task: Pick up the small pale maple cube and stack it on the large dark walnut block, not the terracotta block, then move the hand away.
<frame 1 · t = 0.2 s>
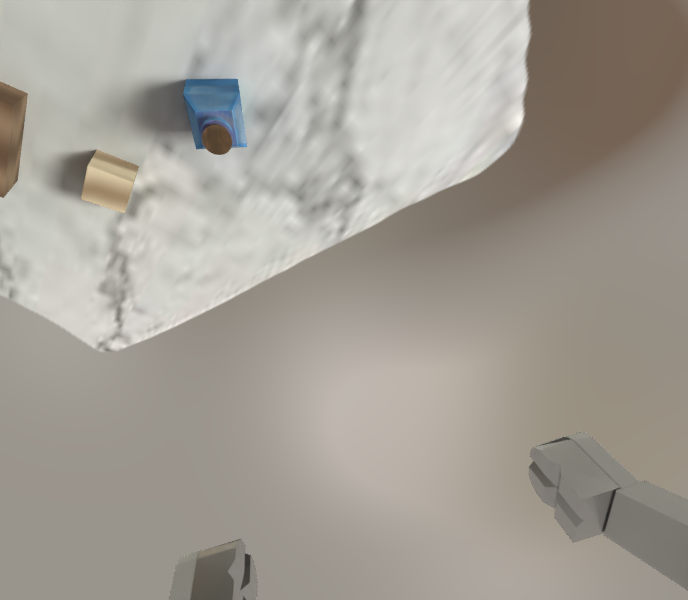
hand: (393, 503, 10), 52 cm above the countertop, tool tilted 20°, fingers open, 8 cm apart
maple cube: (114, 173, 50), on the countertop
perfume bottle: (217, 105, 48), on the countertop
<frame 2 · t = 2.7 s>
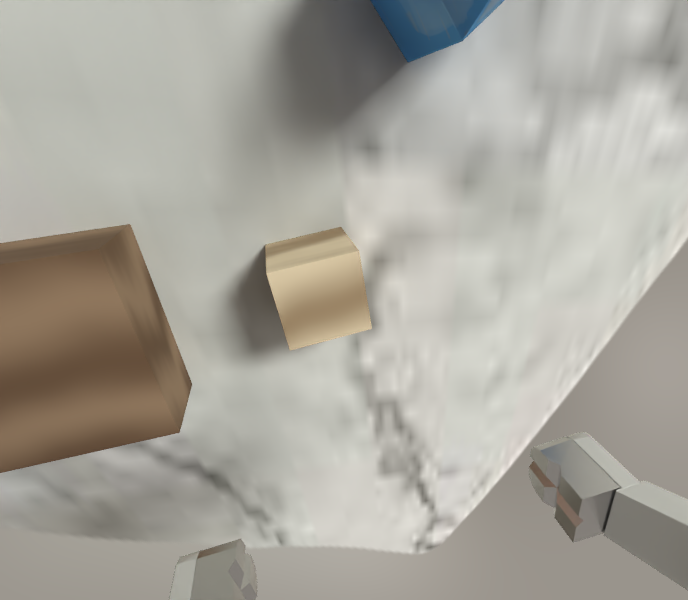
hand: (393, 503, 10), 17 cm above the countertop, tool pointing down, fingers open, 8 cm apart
walnut block: (68, 328, 23), on the countertop
maple cube: (311, 270, 24), on the countertop
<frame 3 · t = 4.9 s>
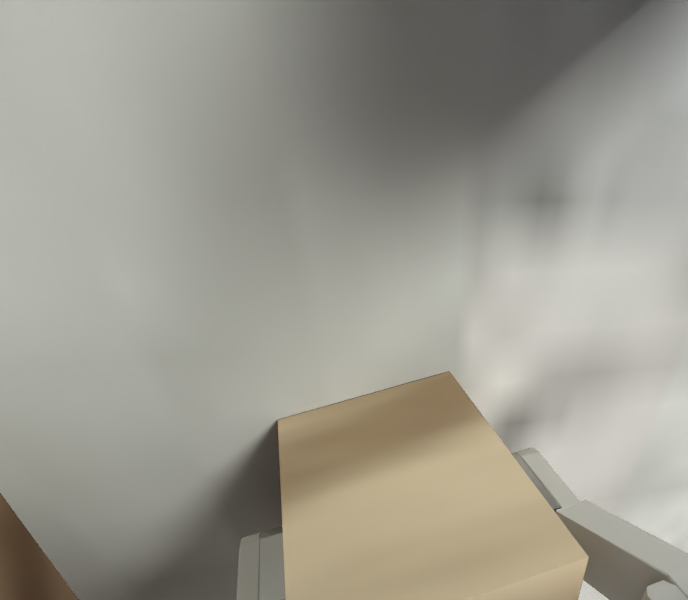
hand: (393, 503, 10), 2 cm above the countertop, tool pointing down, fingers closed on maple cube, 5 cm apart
maple cube: (377, 455, 11), on the countertop, touching gripper
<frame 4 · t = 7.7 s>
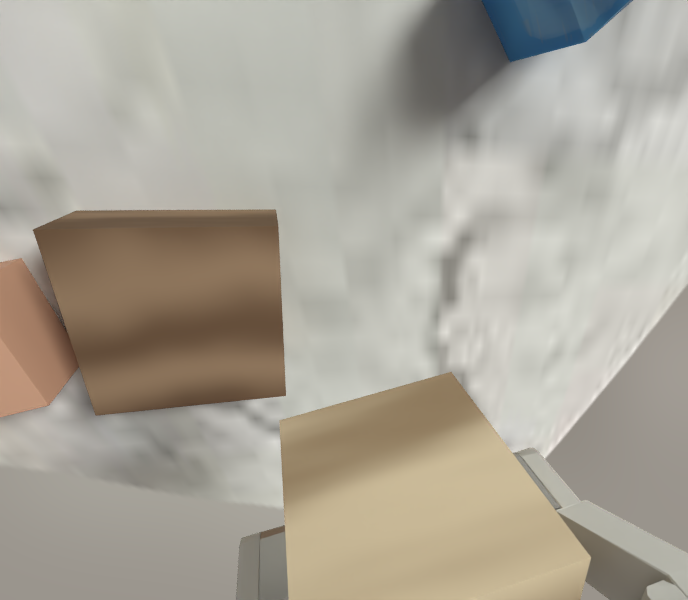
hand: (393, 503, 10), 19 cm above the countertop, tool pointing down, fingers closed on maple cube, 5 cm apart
walnut block: (195, 293, 26), on the countertop
maple cube: (379, 455, 11), point 17 cm above the countertop, touching gripper
when the fingers open (8 cm above the countertop, at t = 10.7 s): maple cube drops 2 cm, point 5 cm above the countertop.
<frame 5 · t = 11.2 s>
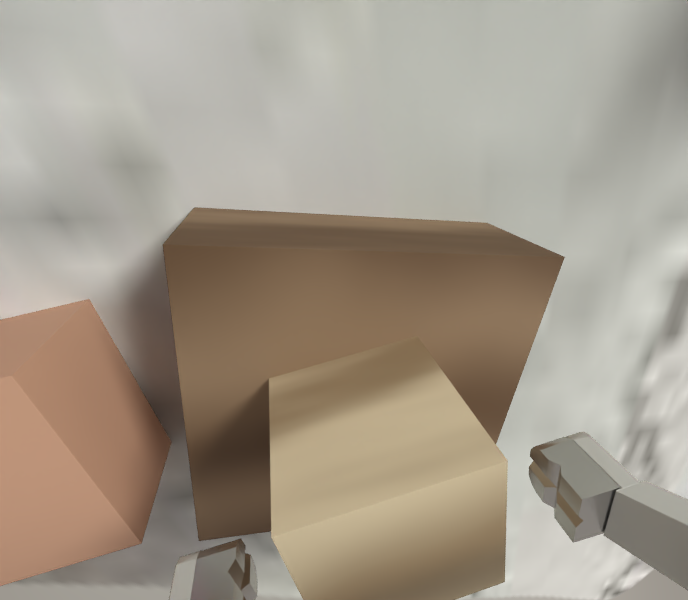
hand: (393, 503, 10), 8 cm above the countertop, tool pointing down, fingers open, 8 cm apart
terracotta block: (41, 400, 15), on the countertop
walnut block: (338, 339, 17), on the countertop
maple cube: (358, 412, 13), point 5 cm above the countertop
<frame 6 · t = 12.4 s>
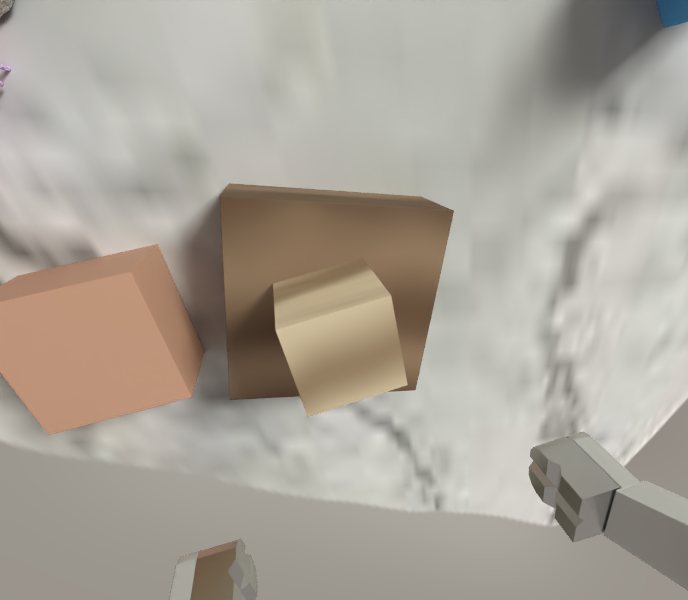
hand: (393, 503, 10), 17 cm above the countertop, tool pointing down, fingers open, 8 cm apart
terracotta block: (121, 315, 23), on the countertop
walnut block: (323, 278, 25), on the countertop, touching maple cube
maple cube: (329, 309, 20), point 5 cm above the countertop, touching walnut block
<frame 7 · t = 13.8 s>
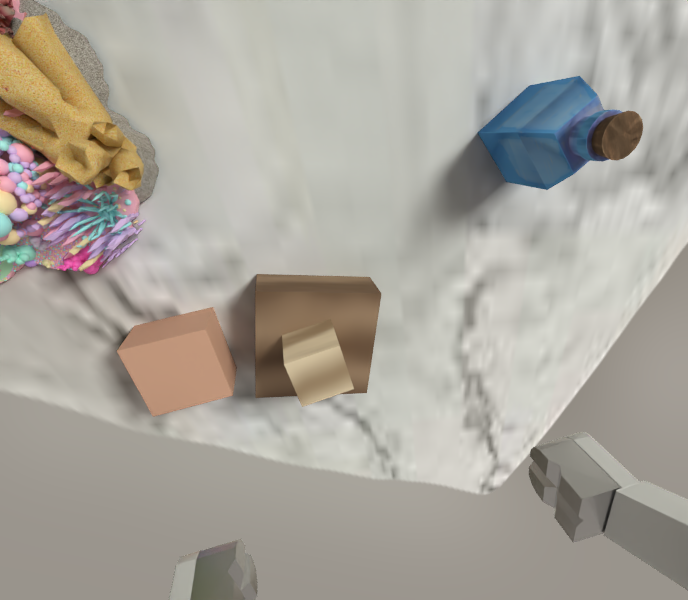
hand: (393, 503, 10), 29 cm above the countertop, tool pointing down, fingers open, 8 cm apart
terracotta block: (188, 347, 39), on the countertop
walnut block: (311, 324, 41), on the countertop, touching maple cube
maple cube: (313, 347, 36), point 5 cm above the countertop, touching walnut block
perfume bottle: (516, 136, 36), on the countertop
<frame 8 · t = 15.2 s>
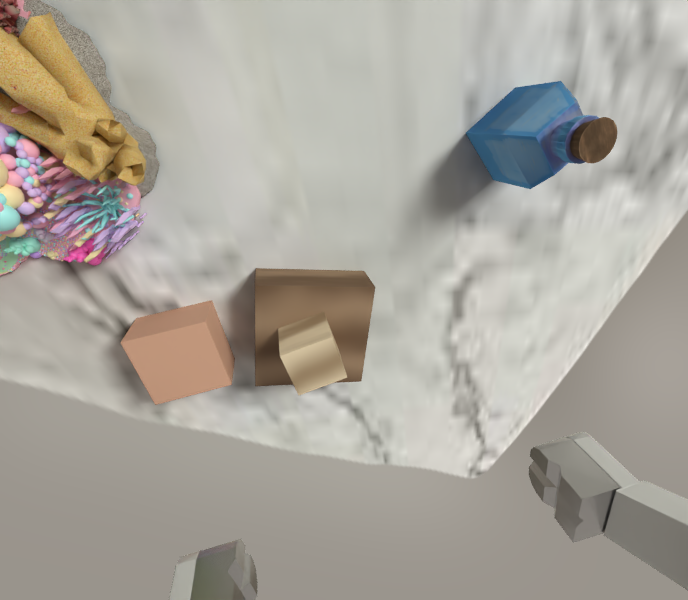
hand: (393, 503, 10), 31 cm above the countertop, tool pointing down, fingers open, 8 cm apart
terracotta block: (188, 338, 41), on the countertop
walnut block: (308, 316, 43), on the countertop, touching maple cube
maple cube: (309, 339, 38), point 5 cm above the countertop, touching walnut block
perfume bottle: (502, 136, 38), on the countertop
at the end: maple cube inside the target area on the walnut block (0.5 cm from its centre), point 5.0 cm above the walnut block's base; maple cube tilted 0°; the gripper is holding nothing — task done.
